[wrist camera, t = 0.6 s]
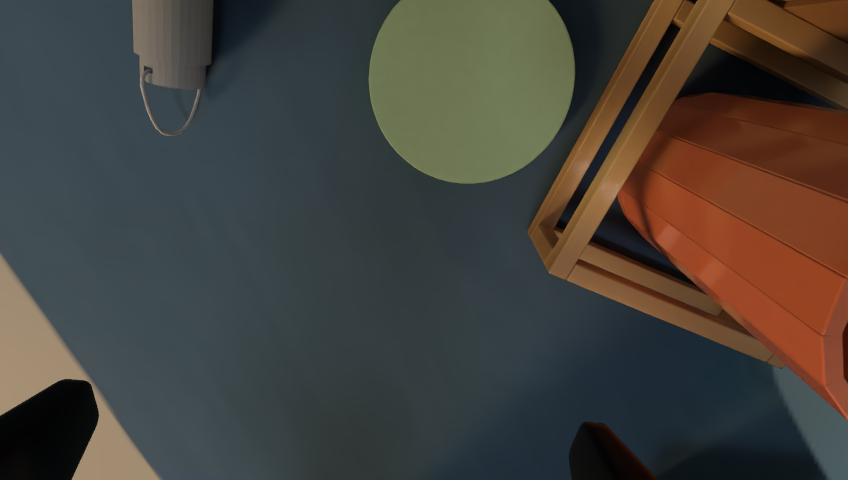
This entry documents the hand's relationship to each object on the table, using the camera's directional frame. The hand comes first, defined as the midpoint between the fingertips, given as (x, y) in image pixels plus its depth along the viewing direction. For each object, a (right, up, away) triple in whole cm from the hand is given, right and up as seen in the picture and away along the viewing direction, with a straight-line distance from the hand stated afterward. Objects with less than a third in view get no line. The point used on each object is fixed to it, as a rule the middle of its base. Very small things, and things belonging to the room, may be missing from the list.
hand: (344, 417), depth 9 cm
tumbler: (+14, +6, +13) cm, 20 cm away
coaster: (+3, +10, +11) cm, 15 cm away
